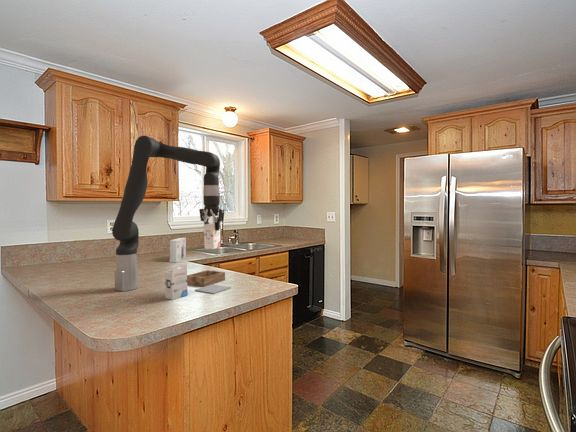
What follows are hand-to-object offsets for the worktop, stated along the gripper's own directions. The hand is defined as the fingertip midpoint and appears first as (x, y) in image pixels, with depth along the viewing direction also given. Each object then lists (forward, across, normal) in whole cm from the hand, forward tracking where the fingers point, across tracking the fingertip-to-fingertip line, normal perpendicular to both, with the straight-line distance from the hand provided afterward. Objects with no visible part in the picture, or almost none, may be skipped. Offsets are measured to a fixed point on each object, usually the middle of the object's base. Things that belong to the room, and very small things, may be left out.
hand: (212, 230), depth 155 cm
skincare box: (+29, -82, +54) cm, 103 cm away
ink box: (+29, -6, -17) cm, 34 cm away
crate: (+29, -14, +10) cm, 33 cm away
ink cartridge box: (+9, 0, 0) cm, 9 cm away
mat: (+29, 0, 0) cm, 29 cm away
